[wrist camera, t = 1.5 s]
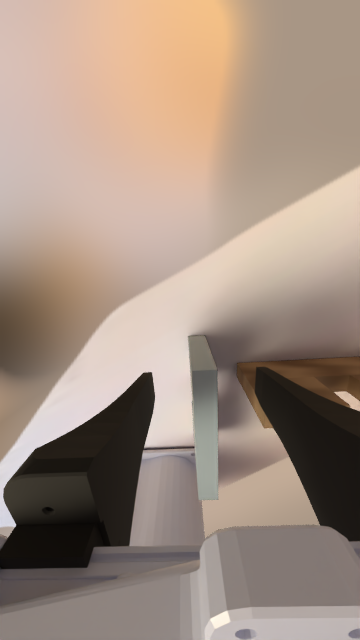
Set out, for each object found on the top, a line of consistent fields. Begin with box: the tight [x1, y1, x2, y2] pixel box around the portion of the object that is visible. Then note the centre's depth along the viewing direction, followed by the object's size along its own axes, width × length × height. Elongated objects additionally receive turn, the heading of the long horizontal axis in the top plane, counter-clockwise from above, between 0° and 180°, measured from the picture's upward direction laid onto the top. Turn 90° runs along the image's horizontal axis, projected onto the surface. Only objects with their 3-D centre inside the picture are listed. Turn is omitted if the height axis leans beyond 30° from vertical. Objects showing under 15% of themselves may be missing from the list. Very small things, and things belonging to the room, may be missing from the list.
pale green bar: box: [188, 335, 218, 500], centre depth 15 cm, size 2×12×6 cm, turn 4°
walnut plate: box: [237, 357, 360, 428], centre depth 14 cm, size 14×2×6 cm, turn 94°
